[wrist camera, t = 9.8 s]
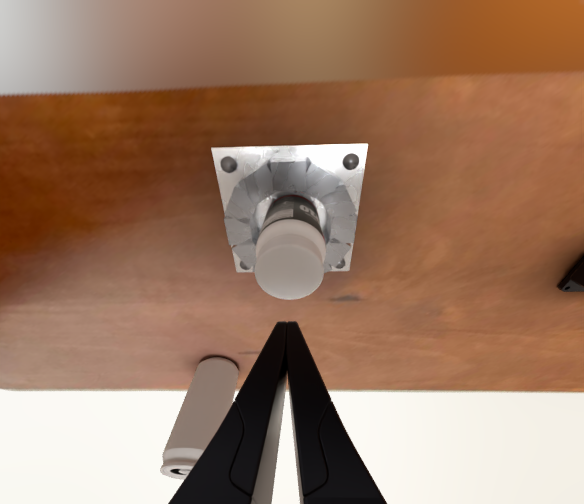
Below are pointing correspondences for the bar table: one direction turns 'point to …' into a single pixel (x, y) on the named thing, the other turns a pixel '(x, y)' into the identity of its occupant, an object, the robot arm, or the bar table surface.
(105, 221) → the bar table surface
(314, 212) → the pill bottle
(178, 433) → the beverage can
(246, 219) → the socket
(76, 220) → the bar table surface
